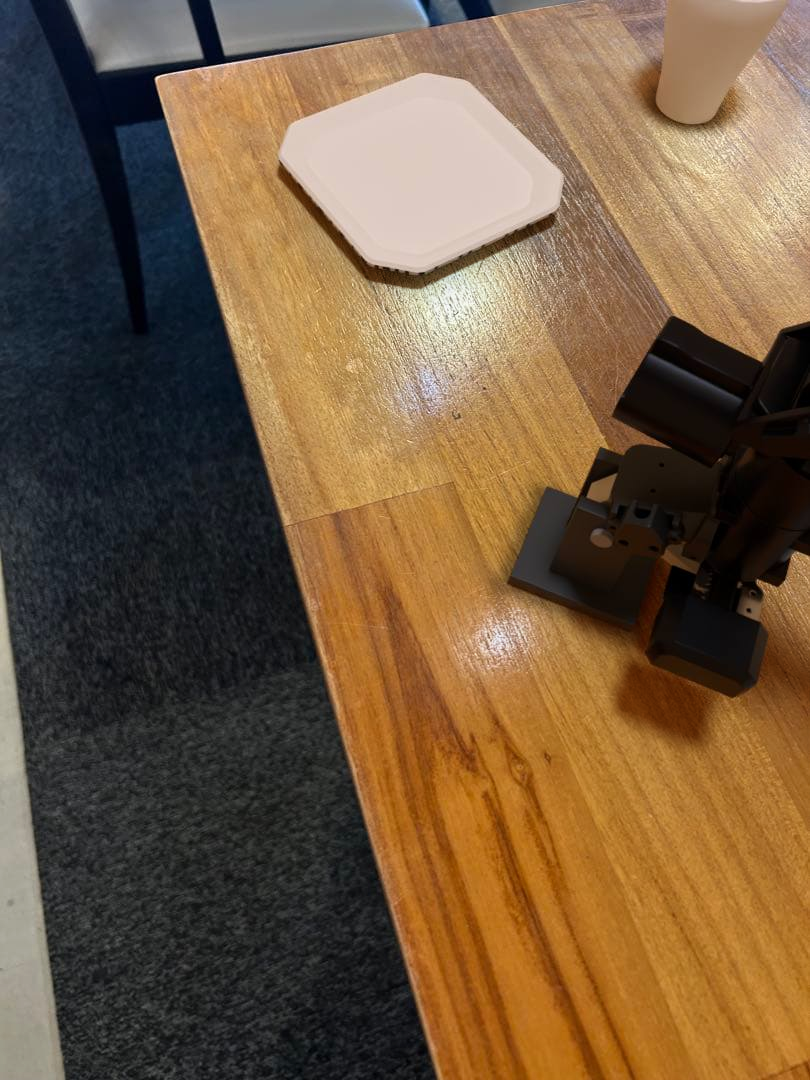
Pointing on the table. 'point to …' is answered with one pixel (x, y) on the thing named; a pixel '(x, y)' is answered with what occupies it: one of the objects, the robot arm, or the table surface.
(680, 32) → the cup
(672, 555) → the switch lever
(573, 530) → the switch base
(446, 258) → the plate
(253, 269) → the table surface
